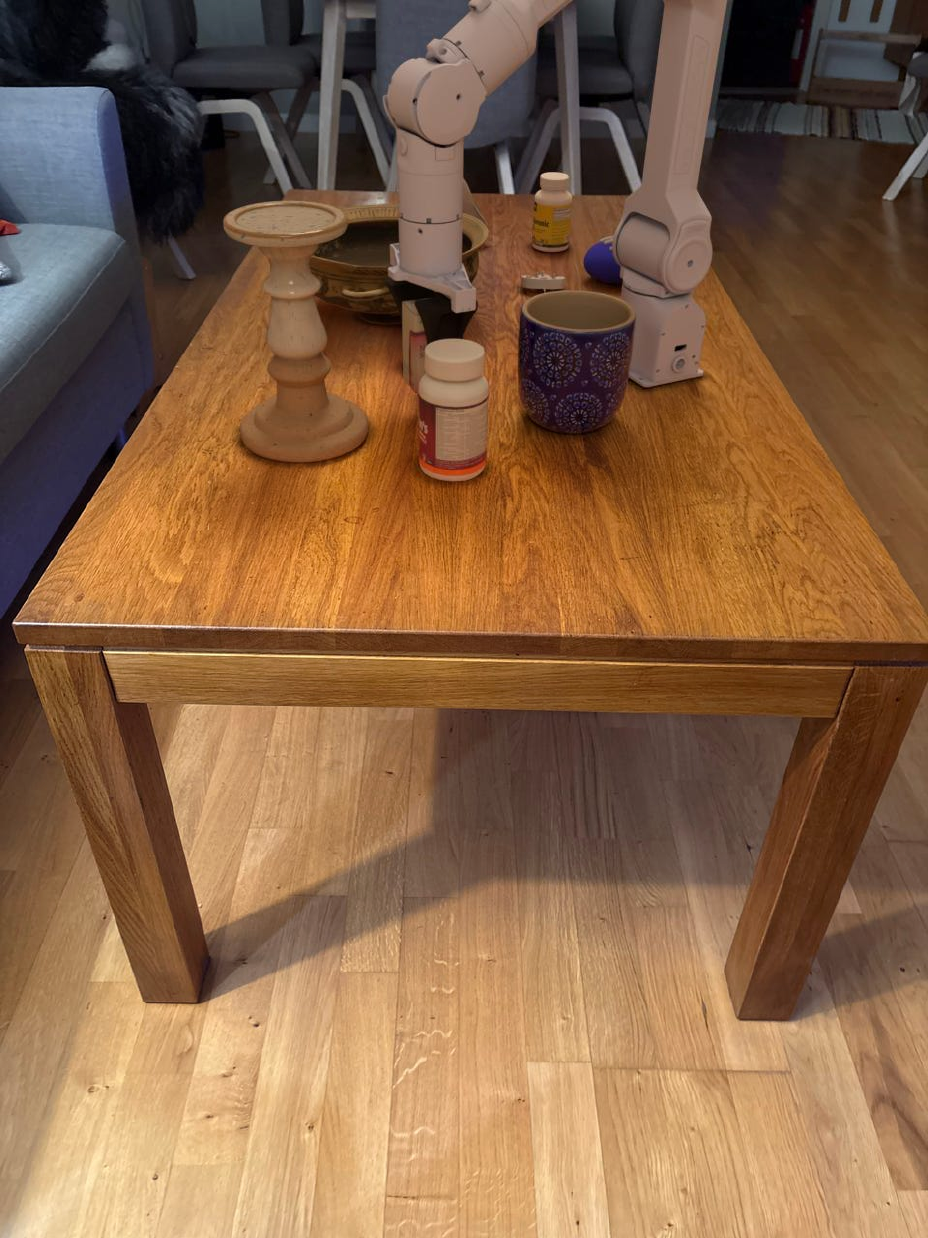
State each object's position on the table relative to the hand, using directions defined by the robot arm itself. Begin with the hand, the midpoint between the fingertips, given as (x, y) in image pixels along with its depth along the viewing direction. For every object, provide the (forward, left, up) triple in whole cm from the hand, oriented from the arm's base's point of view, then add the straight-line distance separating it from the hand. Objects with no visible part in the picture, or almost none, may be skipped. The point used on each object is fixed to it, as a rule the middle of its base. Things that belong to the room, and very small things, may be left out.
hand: (431, 360), depth 95 cm
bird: (+48, -25, -6) cm, 54 cm away
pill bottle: (-11, +3, -6) cm, 13 cm away
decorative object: (+25, -40, -6) cm, 48 cm away
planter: (-7, -12, -6) cm, 15 cm away
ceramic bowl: (+27, -7, -6) cm, 28 cm away
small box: (0, 0, -3) cm, 3 cm away
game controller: (+24, -27, -6) cm, 37 cm away
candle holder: (+1, +13, -6) cm, 14 cm away
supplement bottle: (+42, -39, -6) cm, 58 cm away
